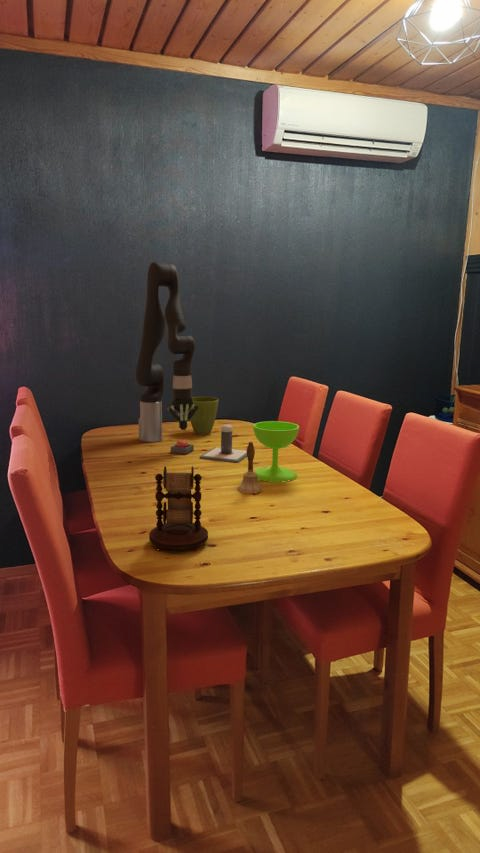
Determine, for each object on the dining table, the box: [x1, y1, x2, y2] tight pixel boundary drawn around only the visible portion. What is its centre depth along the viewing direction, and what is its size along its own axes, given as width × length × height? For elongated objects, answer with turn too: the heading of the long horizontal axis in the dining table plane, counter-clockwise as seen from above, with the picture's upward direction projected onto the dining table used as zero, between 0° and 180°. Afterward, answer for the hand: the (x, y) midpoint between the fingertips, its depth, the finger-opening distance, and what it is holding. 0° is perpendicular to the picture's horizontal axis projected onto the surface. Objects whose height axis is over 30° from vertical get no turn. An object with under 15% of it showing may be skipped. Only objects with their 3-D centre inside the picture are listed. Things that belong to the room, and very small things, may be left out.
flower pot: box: [188, 396, 219, 436], centre depth 266 cm, size 15×15×16 cm
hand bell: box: [236, 441, 263, 494], centre depth 187 cm, size 8×8×16 cm
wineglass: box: [252, 420, 300, 483], centre depth 203 cm, size 16×16×18 cm
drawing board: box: [199, 446, 247, 464], centre depth 230 cm, size 16×16×1 cm
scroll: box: [148, 465, 209, 551], centre depth 145 cm, size 15×15×20 cm
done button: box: [176, 440, 189, 448], centre depth 234 cm, size 4×4×2 cm
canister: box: [220, 424, 234, 454], centre depth 229 cm, size 4×4×11 cm
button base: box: [170, 443, 195, 456], centre depth 234 cm, size 7×7×2 cm
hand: (183, 429), depth 233 cm, fingers closed
